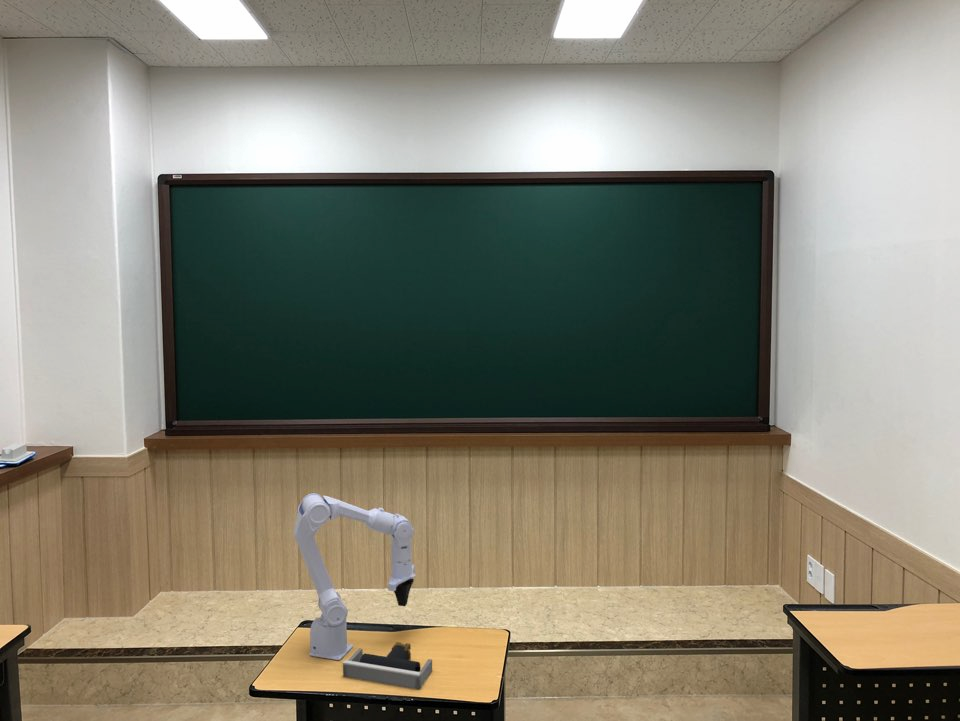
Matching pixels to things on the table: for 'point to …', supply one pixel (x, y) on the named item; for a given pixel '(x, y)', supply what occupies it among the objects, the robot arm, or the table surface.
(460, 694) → the table surface
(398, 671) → the bracket
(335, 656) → the robot arm
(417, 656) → the table surface
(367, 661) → the pipe connector
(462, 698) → the table surface
